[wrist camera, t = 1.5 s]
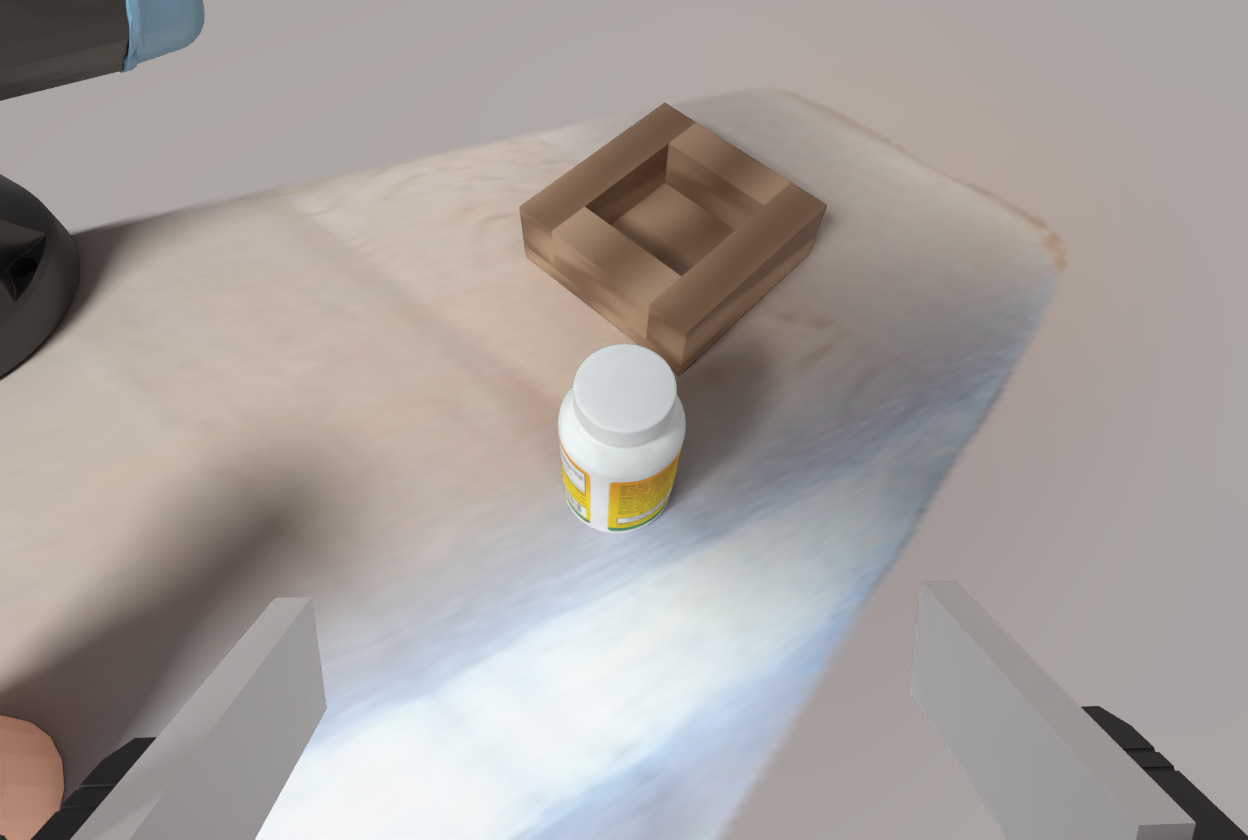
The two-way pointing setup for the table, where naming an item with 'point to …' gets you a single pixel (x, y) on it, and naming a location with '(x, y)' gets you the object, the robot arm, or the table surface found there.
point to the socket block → (670, 233)
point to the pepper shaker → (27, 778)
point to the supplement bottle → (620, 438)
